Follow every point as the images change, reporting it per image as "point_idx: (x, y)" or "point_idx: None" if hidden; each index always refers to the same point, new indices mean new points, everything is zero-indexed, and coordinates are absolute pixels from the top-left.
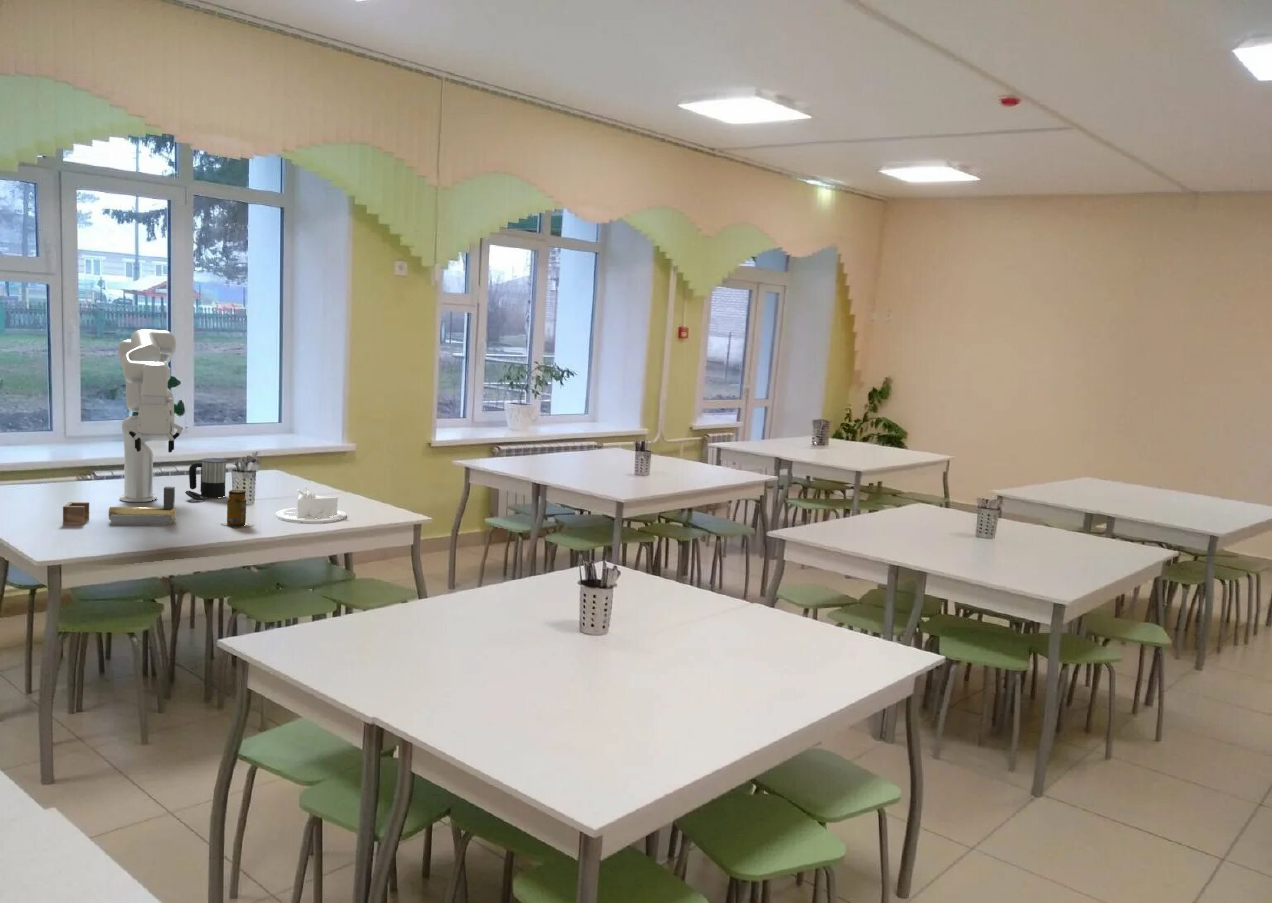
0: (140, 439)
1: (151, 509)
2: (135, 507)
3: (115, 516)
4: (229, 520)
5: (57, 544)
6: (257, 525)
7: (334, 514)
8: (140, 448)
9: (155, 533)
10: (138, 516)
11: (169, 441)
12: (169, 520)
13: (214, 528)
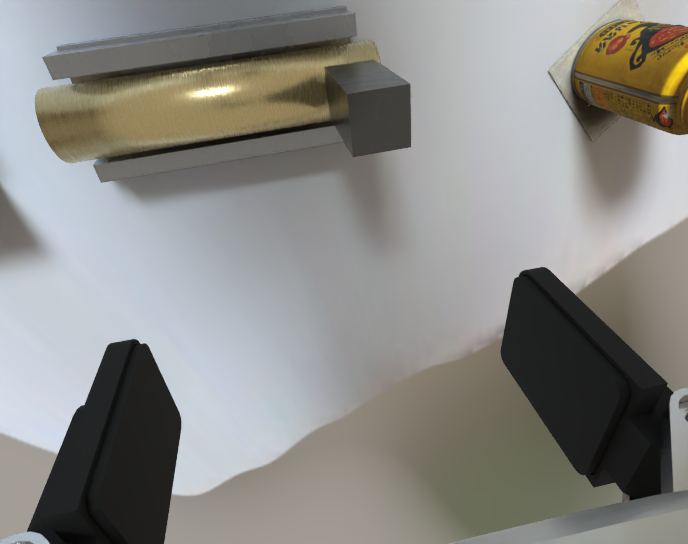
0: (117, 529)
1: (270, 123)
2: (183, 121)
3: (123, 177)
4: (592, 101)
5: None
6: None
7: None
8: (148, 381)
9: (337, 262)
10: (225, 159)
11: (593, 476)
12: None
13: (519, 150)
